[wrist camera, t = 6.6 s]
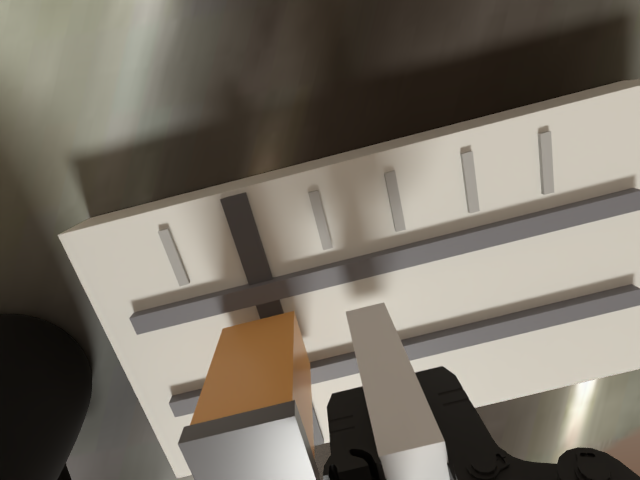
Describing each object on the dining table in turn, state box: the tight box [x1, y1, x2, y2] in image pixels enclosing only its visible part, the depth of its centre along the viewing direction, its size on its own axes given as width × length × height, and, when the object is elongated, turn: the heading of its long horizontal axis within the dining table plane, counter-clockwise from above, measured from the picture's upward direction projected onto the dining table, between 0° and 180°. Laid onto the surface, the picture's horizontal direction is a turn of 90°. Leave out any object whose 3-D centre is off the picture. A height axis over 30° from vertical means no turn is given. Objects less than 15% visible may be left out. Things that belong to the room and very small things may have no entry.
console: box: [58, 79, 640, 478], centre depth 18 cm, size 24×13×3 cm, turn 104°
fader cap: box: [178, 311, 320, 480], centre depth 14 cm, size 3×3×6 cm
